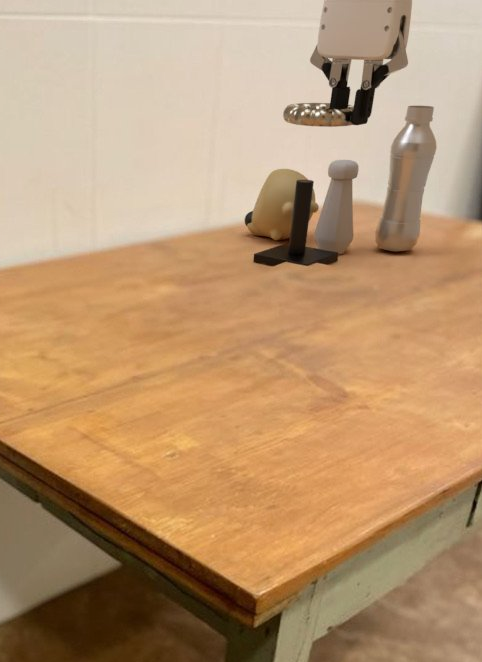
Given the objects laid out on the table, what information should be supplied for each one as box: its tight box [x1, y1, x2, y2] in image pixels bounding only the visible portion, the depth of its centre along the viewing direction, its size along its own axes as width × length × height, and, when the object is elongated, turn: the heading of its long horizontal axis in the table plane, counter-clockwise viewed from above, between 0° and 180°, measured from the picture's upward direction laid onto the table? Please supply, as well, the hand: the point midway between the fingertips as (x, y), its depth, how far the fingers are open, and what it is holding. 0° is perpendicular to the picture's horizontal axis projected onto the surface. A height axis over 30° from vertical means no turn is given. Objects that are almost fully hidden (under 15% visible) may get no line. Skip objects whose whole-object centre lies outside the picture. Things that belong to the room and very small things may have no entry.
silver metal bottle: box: [375, 105, 438, 253], centre depth 121 cm, size 6×7×20 cm
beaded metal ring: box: [282, 102, 354, 128], centre depth 106 cm, size 10×10×2 cm
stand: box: [252, 179, 340, 267], centre depth 118 cm, size 9×9×11 cm
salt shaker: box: [313, 159, 359, 255], centre depth 122 cm, size 6×6×13 cm
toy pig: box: [244, 168, 320, 241], centre depth 131 cm, size 10×12×11 cm
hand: (348, 121), depth 104 cm, fingers closed on beaded metal ring, 2 cm apart
